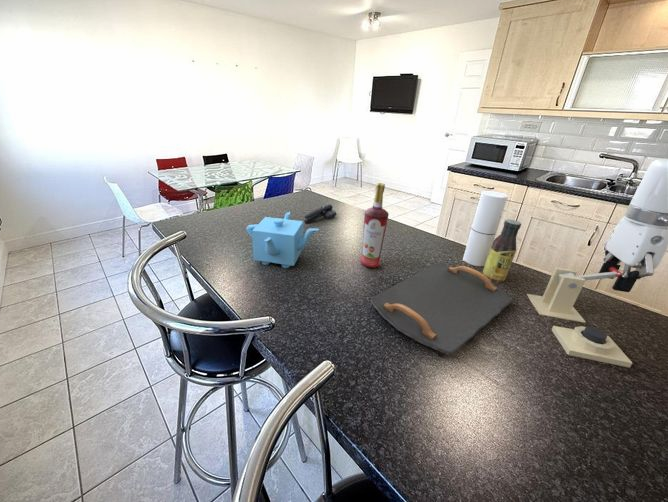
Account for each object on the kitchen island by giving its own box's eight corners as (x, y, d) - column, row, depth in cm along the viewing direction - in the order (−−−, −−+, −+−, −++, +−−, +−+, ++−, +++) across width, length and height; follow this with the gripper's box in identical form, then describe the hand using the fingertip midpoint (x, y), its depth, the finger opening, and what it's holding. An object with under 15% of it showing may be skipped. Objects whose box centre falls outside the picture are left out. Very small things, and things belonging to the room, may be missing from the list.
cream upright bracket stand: (566, 304, 82) (583, 268, 77) (584, 325, 74) (604, 287, 70) (525, 297, 85) (539, 261, 80) (538, 317, 77) (555, 279, 72)
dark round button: (597, 334, 67) (601, 328, 66) (607, 346, 64) (611, 340, 63) (578, 330, 68) (581, 324, 67) (587, 342, 64) (591, 336, 64)
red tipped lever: (614, 272, 74) (614, 264, 73) (628, 283, 70) (628, 274, 69) (556, 279, 79) (555, 271, 78) (565, 289, 74) (565, 281, 74)
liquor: (357, 268, 97) (366, 186, 86) (360, 257, 104) (369, 180, 92) (380, 272, 95) (392, 188, 84) (381, 261, 102) (393, 182, 90)
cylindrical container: (457, 259, 104) (476, 191, 94) (473, 256, 106) (493, 189, 96) (474, 269, 98) (495, 198, 88) (490, 266, 100) (513, 196, 90)
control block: (604, 343, 69) (612, 330, 68) (627, 370, 62) (637, 356, 60) (550, 332, 72) (556, 319, 70) (566, 357, 65) (573, 344, 63)
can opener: (327, 212, 143) (328, 201, 141) (337, 216, 138) (338, 205, 136) (299, 221, 133) (299, 209, 131) (309, 226, 128) (309, 214, 126)
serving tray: (440, 267, 99) (444, 250, 96) (517, 303, 82) (524, 284, 80) (360, 310, 78) (362, 291, 75) (442, 371, 61) (448, 349, 58)
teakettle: (244, 253, 104) (241, 215, 98) (290, 242, 113) (290, 206, 107) (267, 280, 90) (266, 237, 84) (318, 264, 99) (319, 224, 93)
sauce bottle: (492, 286, 89) (513, 227, 81) (476, 275, 95) (494, 218, 86) (509, 283, 91) (531, 225, 83) (492, 273, 96) (511, 216, 88)
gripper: (706, 233, 57) (658, 308, 64) (642, 205, 72) (609, 268, 79) (658, 228, 59) (616, 301, 66) (605, 202, 74) (576, 264, 81)
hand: (612, 283), depth 73 cm, fingers closed on red tipped lever, 5 cm apart
